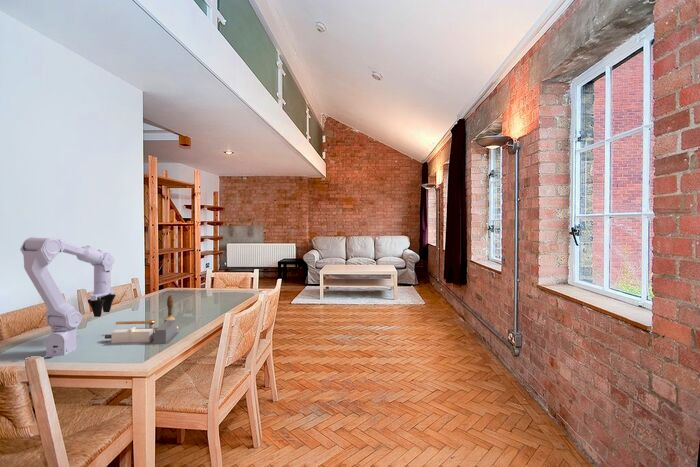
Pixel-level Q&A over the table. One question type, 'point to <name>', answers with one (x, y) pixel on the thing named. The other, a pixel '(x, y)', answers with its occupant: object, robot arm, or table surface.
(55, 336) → the robot arm
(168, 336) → the grey base plate
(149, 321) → the ball-topped lever
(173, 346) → the table surface
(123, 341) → the plug
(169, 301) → the hand bell
